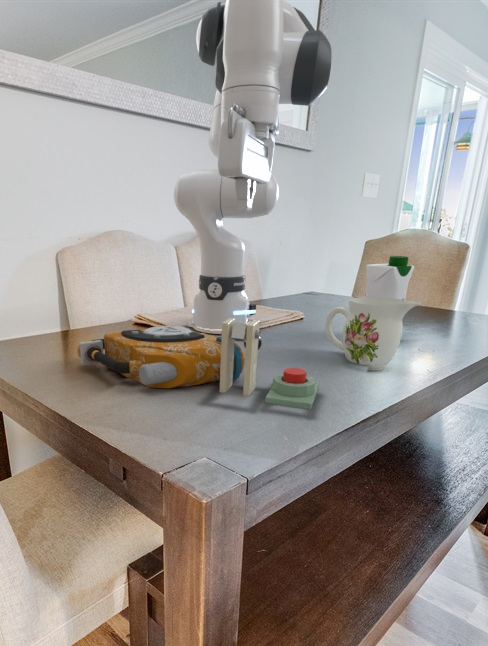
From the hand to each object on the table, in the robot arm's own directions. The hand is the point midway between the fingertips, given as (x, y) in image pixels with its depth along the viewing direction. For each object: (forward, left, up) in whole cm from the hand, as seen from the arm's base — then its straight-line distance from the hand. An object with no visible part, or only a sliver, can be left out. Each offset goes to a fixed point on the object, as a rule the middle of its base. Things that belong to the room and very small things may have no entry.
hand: (244, 211), depth 77 cm
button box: (+9, +12, -29) cm, 33 cm away
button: (+9, +12, -25) cm, 30 cm away
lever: (+6, +3, -22) cm, 23 cm away
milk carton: (-43, +25, -29) cm, 58 cm away
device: (+4, -15, -30) cm, 33 cm away
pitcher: (-18, +22, -29) cm, 41 cm away
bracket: (+10, +3, -29) cm, 31 cm away
